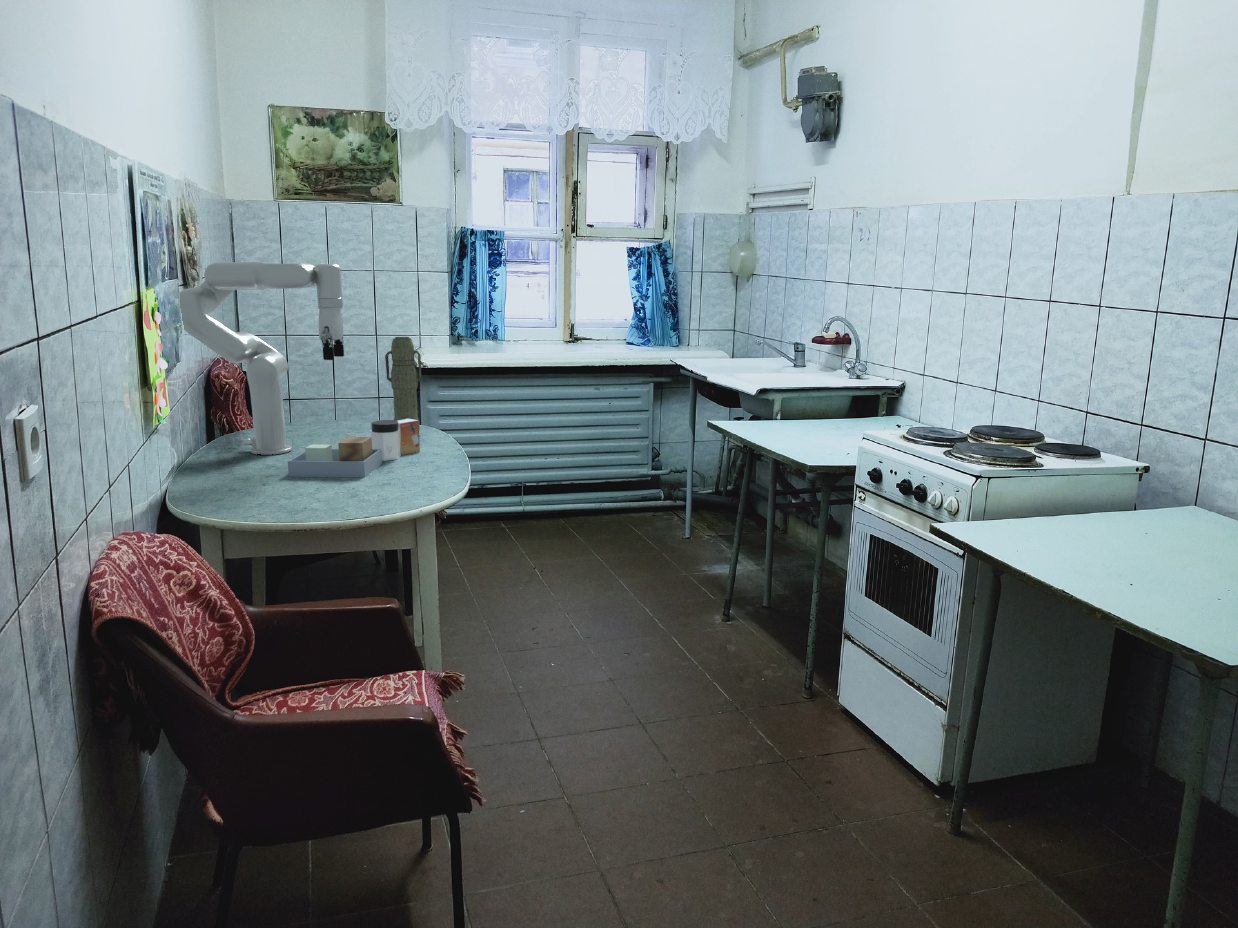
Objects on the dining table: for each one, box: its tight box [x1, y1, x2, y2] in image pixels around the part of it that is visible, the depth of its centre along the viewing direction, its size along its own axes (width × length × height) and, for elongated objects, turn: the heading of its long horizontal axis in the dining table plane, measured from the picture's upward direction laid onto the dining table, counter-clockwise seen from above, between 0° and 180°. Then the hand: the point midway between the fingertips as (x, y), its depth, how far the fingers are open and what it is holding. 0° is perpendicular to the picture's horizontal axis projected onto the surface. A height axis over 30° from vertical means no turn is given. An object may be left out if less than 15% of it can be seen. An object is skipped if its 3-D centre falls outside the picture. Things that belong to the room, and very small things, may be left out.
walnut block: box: [337, 436, 373, 461], centre depth 266 cm, size 7×9×9 cm
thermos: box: [384, 336, 422, 438], centre depth 315 cm, size 9×12×35 cm
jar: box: [370, 419, 402, 462], centre depth 282 cm, size 9×8×12 cm
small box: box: [398, 419, 421, 456], centre depth 293 cm, size 8×6×10 cm
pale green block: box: [304, 443, 333, 461], centre depth 267 cm, size 6×5×7 cm
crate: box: [287, 448, 383, 478], centre depth 267 cm, size 22×17×5 cm
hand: (334, 358), depth 290 cm, fingers open, 9 cm apart
